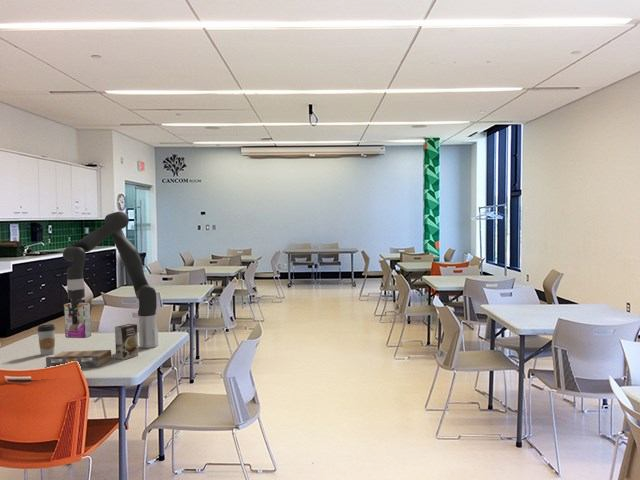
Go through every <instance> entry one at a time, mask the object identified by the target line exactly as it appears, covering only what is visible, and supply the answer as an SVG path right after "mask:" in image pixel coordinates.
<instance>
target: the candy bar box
mask: <svg viewBox="0 0 640 480" xmlns="http://www.w3.org/2000/svg"><path fill="white" fill-rule="evenodd" d="M68 304H71V302H69V303H64V304H63V314H64V333H65V335H64V336H65V338H66V339H88V338H90V337H92V322H91V321H92V319H91V304H90V302H85V303H80V304H78V305H77V307H76V308H75V310H76V309H77V308H78V312H77V321H78V323H77V324H72V317H71V316H69V310H68Z"/></svg>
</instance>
